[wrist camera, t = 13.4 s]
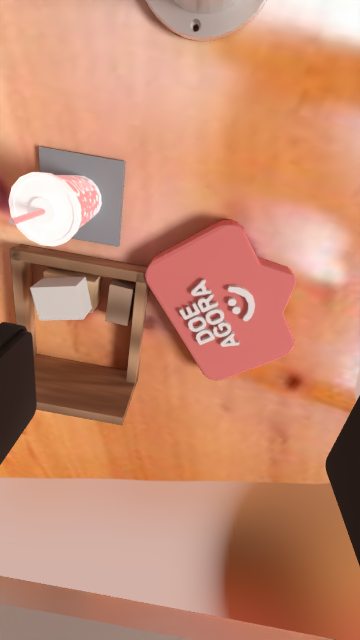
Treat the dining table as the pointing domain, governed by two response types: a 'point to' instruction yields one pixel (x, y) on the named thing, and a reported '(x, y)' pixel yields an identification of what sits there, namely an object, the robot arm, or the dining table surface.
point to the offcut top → (61, 298)
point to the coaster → (107, 180)
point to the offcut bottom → (91, 279)
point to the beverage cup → (52, 206)
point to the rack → (71, 376)
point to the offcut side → (120, 301)
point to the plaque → (224, 300)
